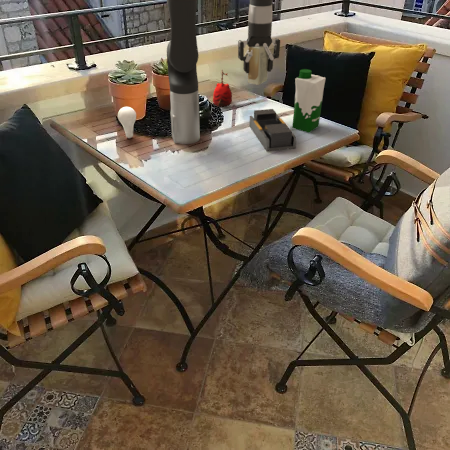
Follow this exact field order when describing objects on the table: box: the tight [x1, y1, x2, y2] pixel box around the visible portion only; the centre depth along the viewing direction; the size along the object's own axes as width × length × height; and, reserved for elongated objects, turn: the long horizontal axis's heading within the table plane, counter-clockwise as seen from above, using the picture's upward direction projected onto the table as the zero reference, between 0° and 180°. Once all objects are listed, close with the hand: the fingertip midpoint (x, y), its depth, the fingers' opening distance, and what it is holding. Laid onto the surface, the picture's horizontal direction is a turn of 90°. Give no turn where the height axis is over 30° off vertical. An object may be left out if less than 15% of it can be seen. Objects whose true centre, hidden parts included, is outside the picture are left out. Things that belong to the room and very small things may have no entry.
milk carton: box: [291, 68, 326, 133], centre depth 165 cm, size 9×9×20 cm
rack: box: [248, 108, 297, 152], centre depth 163 cm, size 10×21×6 cm, turn 13°
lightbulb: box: [117, 106, 137, 139], centre depth 160 cm, size 6×6×11 cm
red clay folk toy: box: [212, 69, 233, 108], centre depth 185 cm, size 8×7×15 cm
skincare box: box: [247, 46, 268, 86], centre depth 159 cm, size 6×4×12 cm
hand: (258, 71), depth 160 cm, fingers closed on skincare box, 7 cm apart
